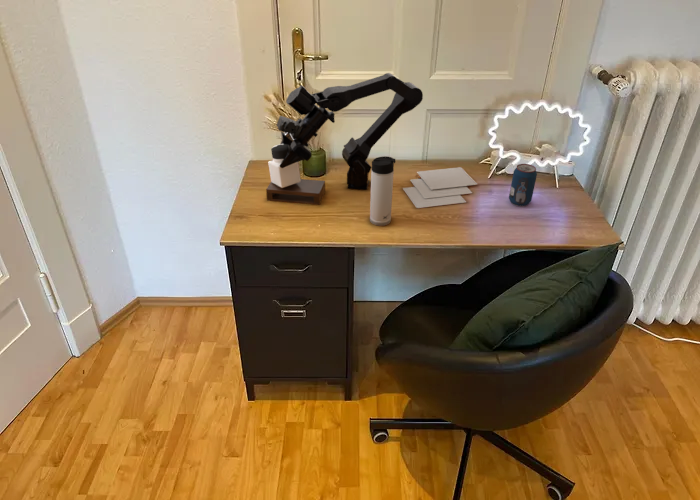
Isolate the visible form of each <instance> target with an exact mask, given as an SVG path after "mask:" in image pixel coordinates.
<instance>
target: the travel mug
mask: <svg viewBox="0 0 700 500" xmlns="http://www.w3.org/2000/svg"><path fill="white" fill-rule="evenodd" d="M395 164H396V158H393V157H392V156H385V155H384V156H378V157H375V158H373V160H372V161H371V170H370V172H371V173H370V200H369V201H370V203H369V222H370V223H371V224H372V225H373V226H374V225H375V226H379V227H384V226H388V225H389V224H390V223H391V221H392V206H393V190H394V189H393V187H394V173H395V172H394V171H395V169H394V168H395Z"/></svg>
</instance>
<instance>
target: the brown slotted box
mask: <svg viewBox="0 0 700 500" xmlns="http://www.w3.org/2000/svg"><path fill="white" fill-rule="evenodd" d="M265 192H266V201H268V202H280V203H290V204H291V203H292V204H293V203H294V204H304V205H316V206H317V205H318V206H320V205H321V203H322V200H323V198H324V196H325V194H326V181H325V180H319V179H318V180H317V179H305V178H301V182H299V183H296V184H293V185H290V186H287V187H284V188H281V187H279V186H278V185H276V184H274V183H272V182H271V181H270V182H269V184H268V185H267V187H266V189H265Z"/></svg>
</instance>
